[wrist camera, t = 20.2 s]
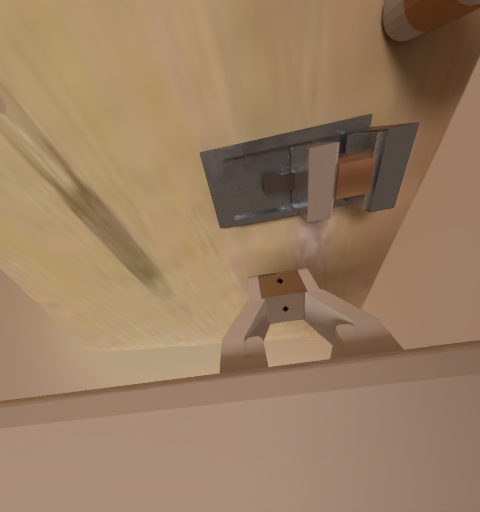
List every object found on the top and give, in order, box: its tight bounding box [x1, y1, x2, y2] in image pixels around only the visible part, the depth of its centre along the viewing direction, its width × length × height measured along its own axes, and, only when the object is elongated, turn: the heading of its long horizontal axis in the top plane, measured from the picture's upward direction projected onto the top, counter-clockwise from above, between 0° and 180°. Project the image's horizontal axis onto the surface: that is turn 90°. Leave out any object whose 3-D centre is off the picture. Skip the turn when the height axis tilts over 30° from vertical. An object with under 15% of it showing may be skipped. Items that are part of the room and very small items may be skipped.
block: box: [334, 153, 376, 199], centre depth 24 cm, size 4×4×8 cm
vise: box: [200, 114, 419, 228], centre depth 25 cm, size 12×24×9 cm, turn 101°
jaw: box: [262, 142, 340, 223], centre depth 24 cm, size 9×8×7 cm
